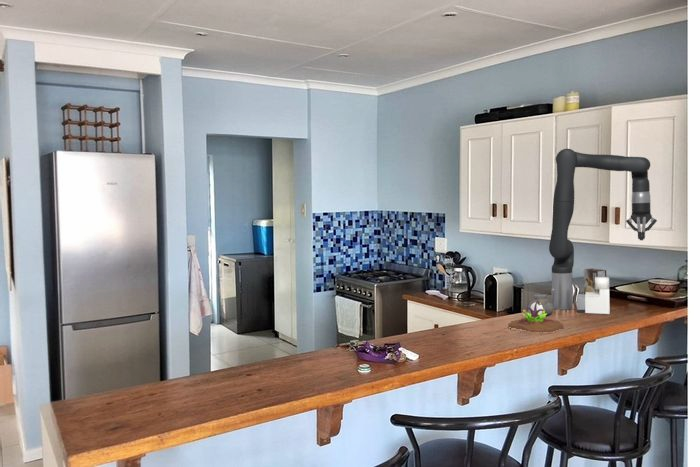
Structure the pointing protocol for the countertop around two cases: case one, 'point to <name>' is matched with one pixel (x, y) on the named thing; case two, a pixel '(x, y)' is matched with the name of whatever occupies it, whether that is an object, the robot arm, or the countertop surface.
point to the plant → (536, 322)
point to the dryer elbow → (598, 297)
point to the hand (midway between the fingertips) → (641, 240)
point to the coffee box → (592, 279)
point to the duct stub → (581, 303)
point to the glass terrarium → (544, 305)
